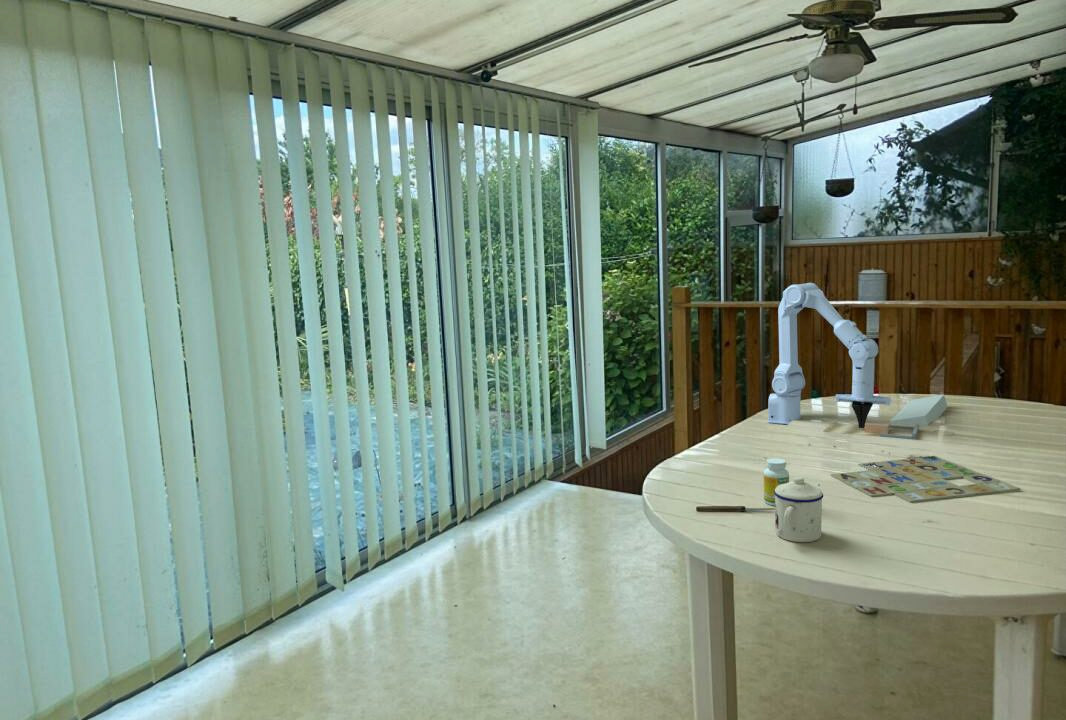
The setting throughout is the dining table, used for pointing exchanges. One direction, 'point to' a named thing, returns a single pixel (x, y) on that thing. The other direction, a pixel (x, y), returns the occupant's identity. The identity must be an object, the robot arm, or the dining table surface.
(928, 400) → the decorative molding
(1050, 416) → the dining table surface
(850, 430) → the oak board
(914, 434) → the tray
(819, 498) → the teacup with lid
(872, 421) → the tile
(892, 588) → the dining table surface
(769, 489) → the supplement bottle
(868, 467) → the alphabet tiles
